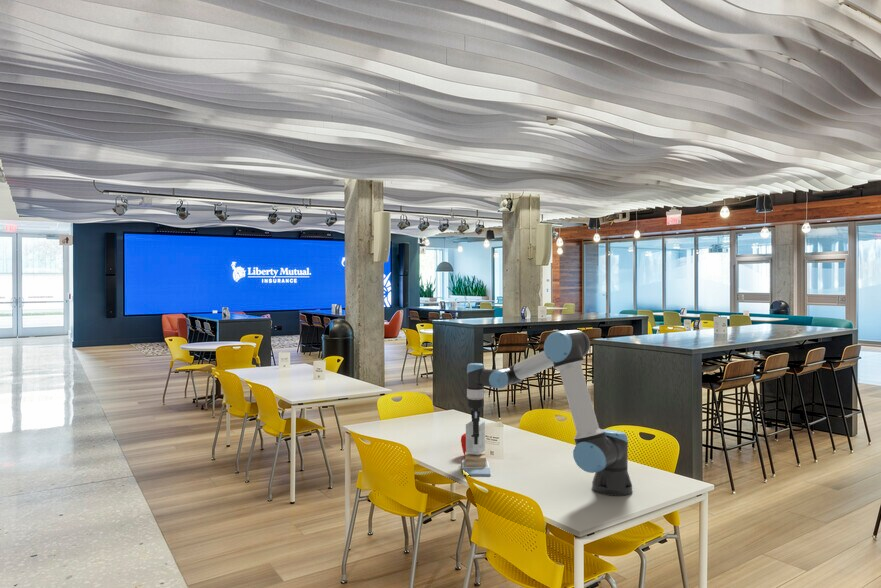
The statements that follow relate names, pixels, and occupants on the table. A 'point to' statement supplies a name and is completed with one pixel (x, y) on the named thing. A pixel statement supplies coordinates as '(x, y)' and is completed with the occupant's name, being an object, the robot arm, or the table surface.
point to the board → (477, 470)
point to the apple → (463, 443)
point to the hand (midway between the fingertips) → (475, 448)
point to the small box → (470, 439)
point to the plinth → (475, 460)
